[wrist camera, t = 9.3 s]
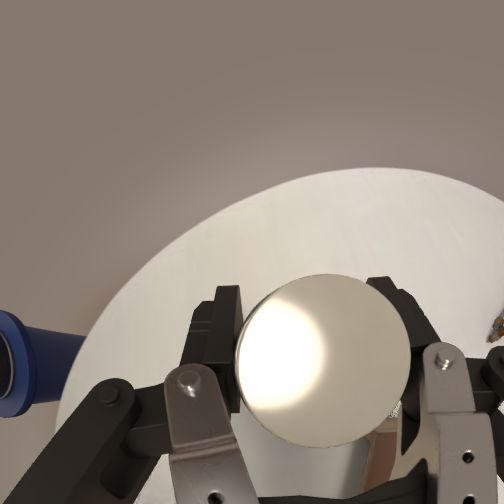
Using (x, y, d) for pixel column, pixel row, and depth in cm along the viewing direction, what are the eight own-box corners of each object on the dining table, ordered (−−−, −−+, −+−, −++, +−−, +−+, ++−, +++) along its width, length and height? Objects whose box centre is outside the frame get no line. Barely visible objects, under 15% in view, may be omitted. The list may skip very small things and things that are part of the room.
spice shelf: (324, 544, 20) (338, 592, 11) (357, 417, 25) (391, 442, 16) (408, 535, 19) (439, 572, 11) (443, 414, 24) (495, 427, 15)
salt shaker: (243, 396, 13) (213, 444, 6) (256, 305, 15) (242, 253, 7) (336, 405, 13) (403, 455, 5) (347, 315, 14) (423, 275, 7)
